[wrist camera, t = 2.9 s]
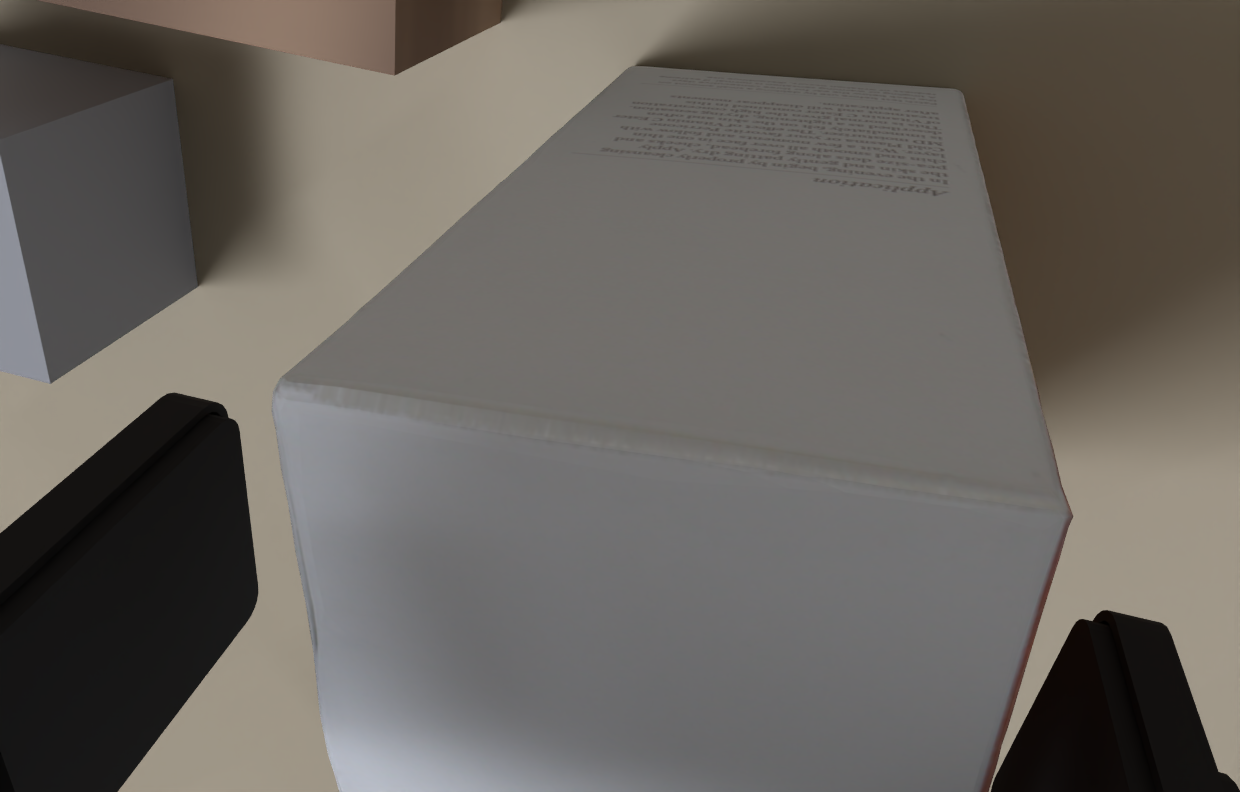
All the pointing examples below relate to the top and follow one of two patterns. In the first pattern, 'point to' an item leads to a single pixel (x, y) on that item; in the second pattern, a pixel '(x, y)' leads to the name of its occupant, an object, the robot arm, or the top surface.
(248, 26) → the walnut block
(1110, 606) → the top surface
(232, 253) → the top surface
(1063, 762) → the robot arm
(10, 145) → the slate-grey cube
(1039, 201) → the top surface
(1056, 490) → the small box
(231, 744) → the top surface
